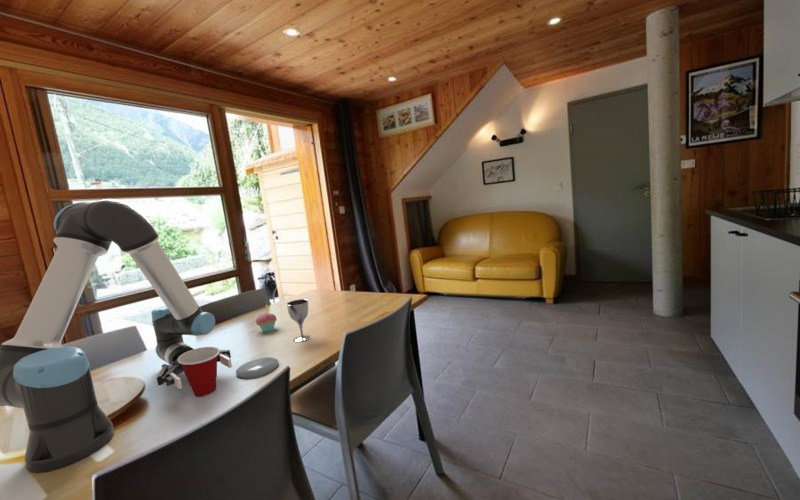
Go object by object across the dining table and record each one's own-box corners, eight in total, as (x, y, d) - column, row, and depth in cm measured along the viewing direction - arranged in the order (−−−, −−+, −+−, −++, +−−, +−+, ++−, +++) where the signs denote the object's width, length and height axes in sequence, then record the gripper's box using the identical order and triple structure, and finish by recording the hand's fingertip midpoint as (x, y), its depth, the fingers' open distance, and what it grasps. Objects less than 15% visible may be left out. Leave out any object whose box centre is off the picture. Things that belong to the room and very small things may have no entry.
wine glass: (316, 337, 137) (311, 300, 135) (299, 344, 132) (293, 306, 129) (305, 333, 143) (300, 298, 141) (288, 340, 137) (282, 303, 135)
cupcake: (282, 327, 153) (278, 301, 151) (265, 334, 146) (261, 307, 144) (269, 325, 157) (265, 299, 156) (253, 332, 150) (248, 305, 149)
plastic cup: (208, 402, 96) (200, 362, 94) (175, 401, 98) (167, 362, 97) (234, 382, 107) (227, 345, 105) (204, 381, 109) (197, 345, 107)
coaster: (247, 383, 105) (247, 380, 105) (229, 372, 114) (229, 369, 114) (285, 365, 115) (285, 363, 115) (266, 356, 123) (266, 354, 123)
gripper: (222, 352, 124) (250, 367, 110) (137, 384, 105) (158, 406, 91) (218, 332, 123) (246, 344, 109) (132, 361, 104) (152, 380, 90)
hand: (206, 373), depth 100 cm, fingers open, 13 cm apart
